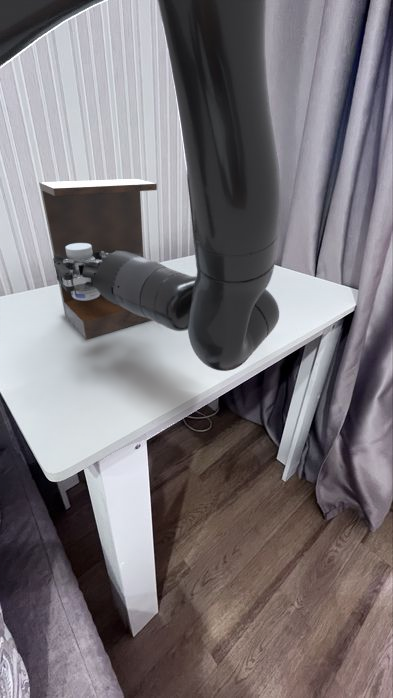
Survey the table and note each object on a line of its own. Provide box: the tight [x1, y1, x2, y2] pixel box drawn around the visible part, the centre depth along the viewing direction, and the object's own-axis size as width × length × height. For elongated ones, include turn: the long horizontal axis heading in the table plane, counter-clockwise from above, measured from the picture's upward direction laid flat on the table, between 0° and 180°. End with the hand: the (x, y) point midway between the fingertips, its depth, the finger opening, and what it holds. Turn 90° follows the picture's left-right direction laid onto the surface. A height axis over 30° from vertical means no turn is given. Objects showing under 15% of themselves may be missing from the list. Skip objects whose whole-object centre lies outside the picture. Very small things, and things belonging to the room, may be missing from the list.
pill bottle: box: [65, 243, 100, 300], centre depth 54 cm, size 5×5×8 cm
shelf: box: [39, 178, 158, 340], centre depth 69 cm, size 20×12×27 cm, turn 127°
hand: (72, 257), depth 55 cm, fingers closed on pill bottle, 4 cm apart
